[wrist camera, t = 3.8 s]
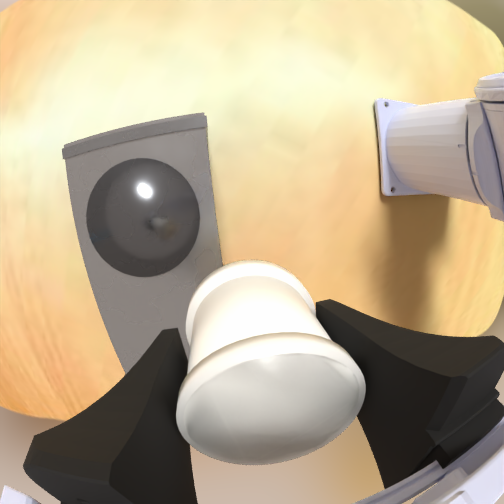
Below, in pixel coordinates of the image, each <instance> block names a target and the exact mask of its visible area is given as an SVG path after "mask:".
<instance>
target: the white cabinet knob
mask: <svg viewBox="0 0 504 504" xmlns="http://www.w3.org/2000/svg"><path fill="white" fill-rule="evenodd" d="M186 335H187V340H188V343H189V345H190V353H189V362H188V372H187V376H186V377H185V379H184V381H183V383H182V384H181V387H180V390H179V394H178V402H177V411H176V421H177V425H178V428H179V431H180V433H181V434H182V436H183V437H184V439H185V440H186V441H187V442H188V443H189V444H190V445H191V446H192V447H194V448H195V449H196V450H198V451H199V452H201V453H203V454H205V455H207V456H209V457H211V458H214V459H217V460H220V461H224V462H228V463H234V464H242V465H265V464H273V463H279V462H284V461H288V460H292V459H295V458H298V457H301V456H304V455H307V454H309V453H311V452H313V451H315V450H317V449H319V448H321V447H323V446H324V445H326V444H328V443H329V442H331V441H332V440H334V439H335V438H336V437H337V436H339V435H340V434H341V433H342V432H343V431H344V430H345V429H346V428H347V427H348V426H349V425H350V424H351V423H352V421H353V420H354V419H355V417H356V416H357V414H358V413H359V411H360V409H361V407H362V404H363V402H364V398H365V393H366V384H365V380H364V376H363V374H362V372H361V370H360V369H359V367H358V366H357V364H356V363H355V361H354V360H353V359H352V357H351V356H350V355H349V353H348V352H347V351H346V350H345V349H344V348H342V347H341V346H340V345H338V344H337V343H335V342H333V341H332V340H331V339H330V337H329V336H328V334H327V333H326V331H325V330H324V328H323V327H322V325H321V324H320V322H319V321H318V319H317V318H316V311H315V306H314V303H313V301H312V298H311V297H310V295H309V293H308V292H307V290H306V289H305V288H304V286H303V285H302V284H301V282H300V281H299V280H298V279H297V278H296V277H295V276H294V275H293V274H292V273H291V272H290V271H288V270H287V269H285V268H283V267H281V266H279V265H277V264H274V263H271V262H267V261H263V260H242V261H237V262H233V263H230V264H227V265H224V266H222V267H220V268H218V269H216V270H215V271H213V272H212V273H210V274H209V275H208V276H207V277H205V278H204V279H203V281H202V282H201V283H200V284H199V285H198V287H197V288H196V289H195V291H194V293H193V295H192V297H191V300H190V303H189V307H188V313H187V318H186Z"/></svg>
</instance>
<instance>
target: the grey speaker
mask: <svg viewBox="0 0 504 504" xmlns="http://www.w3.org/2000/svg"><path fill="white" fill-rule="evenodd" d="M62 154H63V159H65V162H66V171H67V179H68V186H69V193H70V199H71V205H72V210H73V216H74V221H75V226H76V230H77V235H78V239H79V243H80V248H81V252H82V255H83V259H84V263H85V267H86V270H87V274H88V277H89V280H90V284H91V287H92V290H93V293H94V296H95V299H96V302H97V305H98V308H99V311H100V314H101V316H102V319H103V322H104V324H105V327H106V330H107V332H108V335H109V337H110V340H111V342H112V344H113V347H114V349H115V351H116V354H117V356H118V358H119V360H120V363H121V365H122V367H123V369H124V371H125V375H126V374H127V373H128V372H129V371H130V369H131V368H132V367H133V366H134V365H135V364H136V363H137V361H138V360H139V359H140V358H141V357H142V355H143V354H144V353H145V352H146V350H147V349H148V348H149V346H150V345H151V344H152V343H153V341H154V340H155V339H156V337H157V336H158V335H159V333H160V332H161V331H162V330H164V329H171V328H178V330H179V333H180V337H181V340H182V343H183V346H184V349H185V352H186V356H187V359H188V362H189V353H190V345H189V343H188V340H187V335H186V318H187V313H188V307H189V303H190V300H191V297H192V295H193V293H194V291H195V289H196V288H197V287H198V285H199V284H200V283H201V282H202V281H203V279H204V278H205V277H207V276H208V275H209V274H210V273H212V272H213V271H215V270H216V269H218V268H220V267H222V266H223V264H222V257H221V250H220V243H219V235H218V228H217V221H216V213H215V205H214V197H213V189H212V181H211V173H210V164H209V155H208V146H207V117H206V116H204V113H196V114H189V115H183V116H177V117H171V118H165V119H160V120H155V121H150V122H145V123H140V124H136V125H131V126H127V127H123V128H119V129H115V130H111V131H108V132H104V133H100V134H97V135H93V136H90V137H87V138H84V139H80V140H77V141H74V142H71V143H68V144H65V145H64V148H63V149H62Z"/></svg>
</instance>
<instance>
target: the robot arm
mask: <svg viewBox="0 0 504 504" xmlns="http://www.w3.org/2000/svg"><path fill="white" fill-rule="evenodd" d="M474 91H475V94H476V97H477V98H467V99H458V100H451V101H443V102H437V103H430V104H424V105H416V104H411V103H406V102H400V101H395V100H389V99H383V98H378V99H376V100H375V103H374V104H375V112H376V120H377V129H378V139H379V152H380V168H381V191H382V193H383V195H385V196H398V195H417V194H439V195H444V196H448V197H452V198H457V199H461V200H465V201H469V202H473V203H477V204H481V205H484V206H488V207H489V210H490V214H491V218H494V219H497V220H500V221H503V222H504V72H502V73H497V74H492V75H488V76H485V77H482V78H480V79H479V80H478V83H477V86H476V87H475V88H474ZM384 103H385V104H386V107H385V105H384ZM391 188H393V191H392V192H391ZM316 318H317V319H318V321H319V322H320V324H321V325H322V327H323V328H324V330H325V331H326V333H327V334H328V336H329V337H330V339H331V340H332V341H333V342H335V343H337V344H338V345H340V346H341V347H342V348H344V349H345V350H346V351H347V352H348V353H349V355H350V356H351V357H352V359H353V360H354V361H355V363H356V364H357V366H358V367H359V369H360V370H361V372H362V374H363V376H364V380H365V384H366V393H365V398H364V402H363V404H362V407H361V409H360V411H359V413H358V414H357V417H358V420H359V422H360V424H361V425H362V428H363V430H364V433H365V435H366V437H367V440H368V442H369V444H370V447H371V450H372V452H373V455H374V458H375V460H376V463H377V466H378V469H379V471H380V475H381V478H382V481H383V484H384V488H385V490H383V491H381V492H379V493H376V494H374V495H372V496H370V497H368V498H365V499H363V500H360V501H358V502H355V503H353V504H402V503H404V502H406V501H407V500H409V499H411V498H413V497H414V496H416V495H418V494H419V493H421V492H423V491H424V490H426V489H428V488H429V487H430V486H432V485H434V484H435V483H437V482H438V483H437V484H436V485H434V486H433V487H432V488H430V489H429V490H427V491H426V492H425V493H423V494H422V495H420V496H419V497H418V498H416V499H415V500H414V502H413V503H412V504H494V503H495V502H496V501H497V500H498V498H499V497H500V496H501V495H502V494H503V493H504V405H502V404H501V403H500V402H499V401H498V400H497V398H498V396H499V392H498V391H497V390H496V389H495V386H496V385H497V383H498V381H499V379H500V377H501V375H502V373H503V371H504V343H503V342H502V341H501V340H500V339H498V338H497V337H495V336H482V337H452V336H441V335H434V334H428V333H422V332H417V331H413V330H409V329H406V328H402V327H398V326H395V325H392V324H389V323H386V322H384V321H381V320H378V319H376V318H373V317H371V316H368V315H366V314H364V313H361V312H359V311H357V310H355V309H352V308H350V307H348V306H346V305H343V304H341V303H339V302H336V301H334V300H331V299H328V300H324V301H320V302H316ZM187 372H188V359H187V356H186V352H185V349H184V346H183V343H182V340H181V337H180V333H179V330H178V328H171V329H164V330H162V331H161V332H160V333H159V335H158V336H157V337H156V339H155V340H154V341H153V343H152V344H151V345H150V346H149V348H148V349H147V350H146V352H145V353H144V354H143V355H142V357H141V358H140V359H139V360H138V361H137V363H136V364H135V365H134V366H133V367H132V368H131V369H130V371H129V372H128V373H127V374H126V375H125V376H124V377H123V378H122V379H121V380H120V381H119V382H118V383H117V384H116V385H115V386H114V387H113V388H112V389H111V390H110V391H108V392H107V393H106V394H105V395H104V396H103V397H101V398H100V399H99V400H97V401H96V402H95V403H93V404H92V405H91V406H89V407H88V408H87V409H85V410H84V411H82V412H81V413H79V414H77V415H76V416H74V417H73V418H71V419H69V420H67V421H66V422H64V423H62V424H60V425H58V426H56V427H54V428H51V429H49V430H47V431H45V432H42V433H40V434H37V435H35V436H34V438H33V440H32V443H31V446H30V448H29V451H28V454H27V456H26V459H25V462H24V464H23V467H24V470H25V472H26V474H27V475H28V476H29V477H30V478H31V479H32V480H33V481H34V482H35V483H36V484H38V485H39V486H40V487H42V488H43V489H44V490H45V491H47V492H48V493H49V494H51V495H52V496H54V497H55V498H56V499H58V500H59V501H61V504H198V503H197V498H196V492H195V486H194V479H193V472H192V464H191V455H190V444H189V443H188V442H187V441H186V440H185V439H184V437H183V436H182V434H181V433H180V431H179V428H178V425H177V421H176V411H177V402H178V394H179V390H180V387H181V384H182V383H183V381H184V379H185V377H186V376H187ZM0 504H41V503H39V502H38V501H36V500H35V499H33V498H32V497H30V496H28V495H26V494H24V493H22V492H20V491H18V490H16V489H13V488H12V487H9V486H7V485H5V486H4V489H3V492H2V496H1V499H0Z"/></svg>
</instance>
